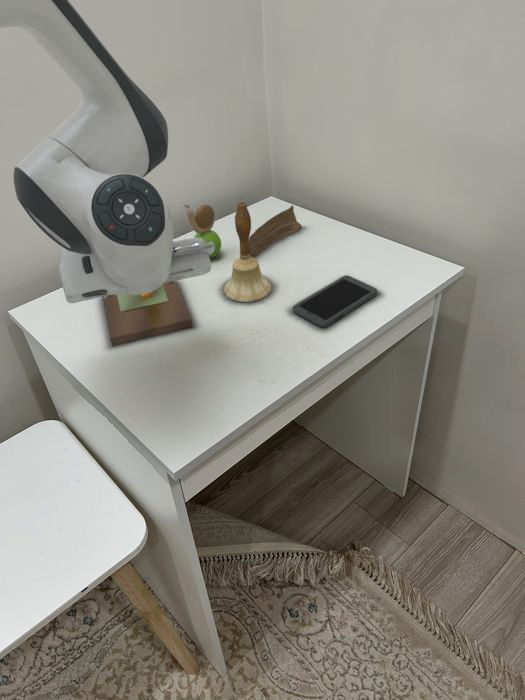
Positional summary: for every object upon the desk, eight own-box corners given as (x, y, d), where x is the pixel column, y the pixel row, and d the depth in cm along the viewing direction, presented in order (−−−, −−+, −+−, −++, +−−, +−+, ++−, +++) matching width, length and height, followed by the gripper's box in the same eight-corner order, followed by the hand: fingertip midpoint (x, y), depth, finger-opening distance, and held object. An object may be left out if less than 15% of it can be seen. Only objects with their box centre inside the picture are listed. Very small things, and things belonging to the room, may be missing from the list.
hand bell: (248, 272, 100) (241, 188, 90) (281, 287, 96) (277, 202, 85) (214, 291, 96) (203, 205, 86) (246, 308, 91) (238, 220, 81)
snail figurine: (185, 260, 105) (175, 201, 97) (208, 246, 109) (200, 189, 101) (205, 268, 102) (196, 208, 95) (228, 254, 106) (221, 195, 98)
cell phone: (379, 293, 92) (379, 289, 92) (323, 329, 85) (323, 325, 85) (346, 277, 97) (346, 273, 96) (290, 310, 90) (290, 307, 89)
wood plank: (255, 261, 103) (254, 237, 100) (247, 258, 104) (245, 234, 101) (301, 229, 112) (300, 206, 109) (292, 226, 113) (292, 204, 110)
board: (112, 345, 85) (109, 337, 84) (103, 299, 96) (101, 291, 95) (192, 326, 88) (191, 318, 87) (175, 283, 99) (174, 276, 98)
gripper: (210, 218, 70) (201, 251, 84) (46, 250, 66) (65, 279, 79) (222, 264, 70) (212, 290, 83) (58, 299, 65) (76, 320, 79)
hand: (139, 285), depth 81 cm, fingers open, 8 cm apart
